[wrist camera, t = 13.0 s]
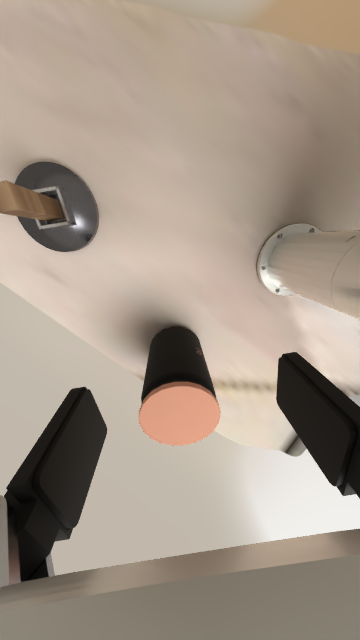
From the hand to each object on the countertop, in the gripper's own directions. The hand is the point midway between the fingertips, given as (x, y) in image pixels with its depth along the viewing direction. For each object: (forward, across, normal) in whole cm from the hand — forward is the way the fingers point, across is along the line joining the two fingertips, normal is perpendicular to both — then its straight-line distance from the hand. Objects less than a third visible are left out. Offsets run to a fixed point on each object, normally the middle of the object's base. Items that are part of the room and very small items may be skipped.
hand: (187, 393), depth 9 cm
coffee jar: (+28, +2, +14) cm, 32 cm away
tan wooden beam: (+27, +16, -14) cm, 35 cm away
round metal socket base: (+28, +16, -14) cm, 35 cm away
